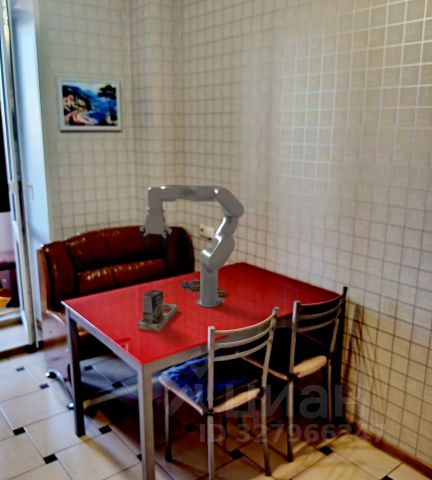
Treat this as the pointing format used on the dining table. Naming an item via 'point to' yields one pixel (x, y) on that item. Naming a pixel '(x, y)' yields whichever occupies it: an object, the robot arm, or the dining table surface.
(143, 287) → the dining table surface
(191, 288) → the gear puzzle
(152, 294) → the coffee box
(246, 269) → the dining table surface
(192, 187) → the robot arm
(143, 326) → the frame
